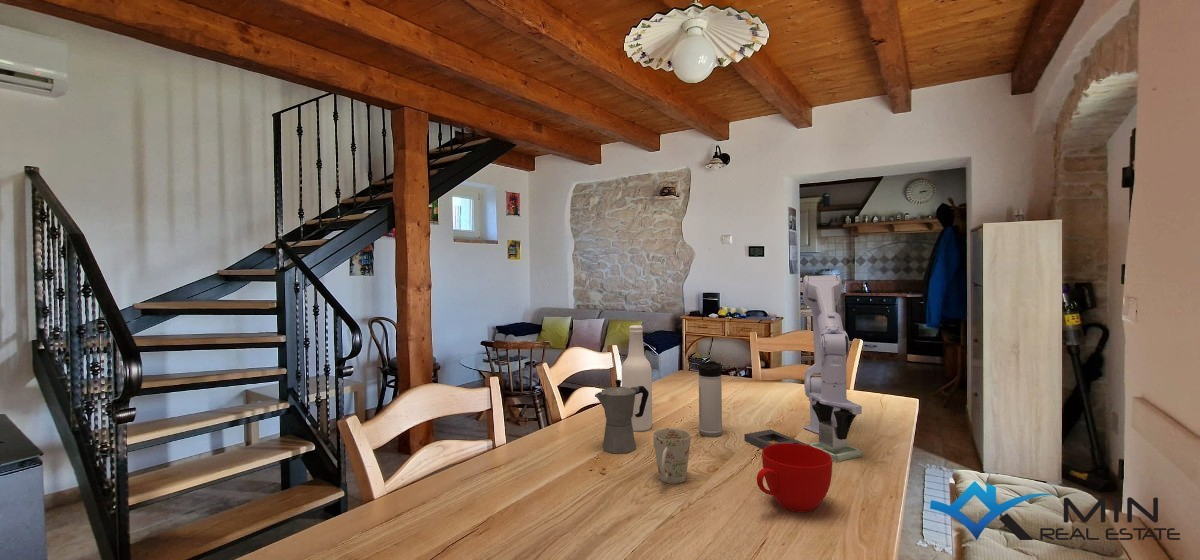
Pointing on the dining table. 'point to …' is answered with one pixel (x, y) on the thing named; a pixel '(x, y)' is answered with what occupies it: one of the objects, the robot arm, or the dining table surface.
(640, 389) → the coffeepot
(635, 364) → the alcohol
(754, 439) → the dark grey flat frame
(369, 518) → the dining table surface
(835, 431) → the grey rectangular block
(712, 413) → the travel mug
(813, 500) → the ceramic cup
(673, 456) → the mug
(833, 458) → the tray
